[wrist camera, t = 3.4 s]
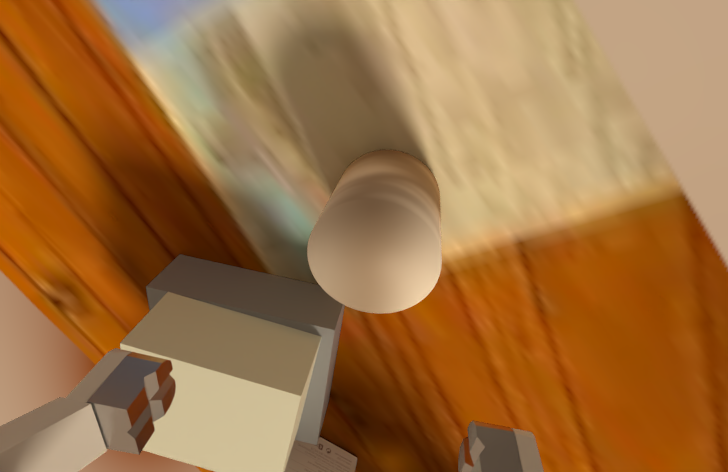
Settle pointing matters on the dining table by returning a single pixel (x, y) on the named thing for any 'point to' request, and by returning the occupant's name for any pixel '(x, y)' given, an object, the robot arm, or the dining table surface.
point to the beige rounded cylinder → (379, 234)
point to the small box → (319, 458)
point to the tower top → (226, 384)
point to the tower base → (265, 315)
